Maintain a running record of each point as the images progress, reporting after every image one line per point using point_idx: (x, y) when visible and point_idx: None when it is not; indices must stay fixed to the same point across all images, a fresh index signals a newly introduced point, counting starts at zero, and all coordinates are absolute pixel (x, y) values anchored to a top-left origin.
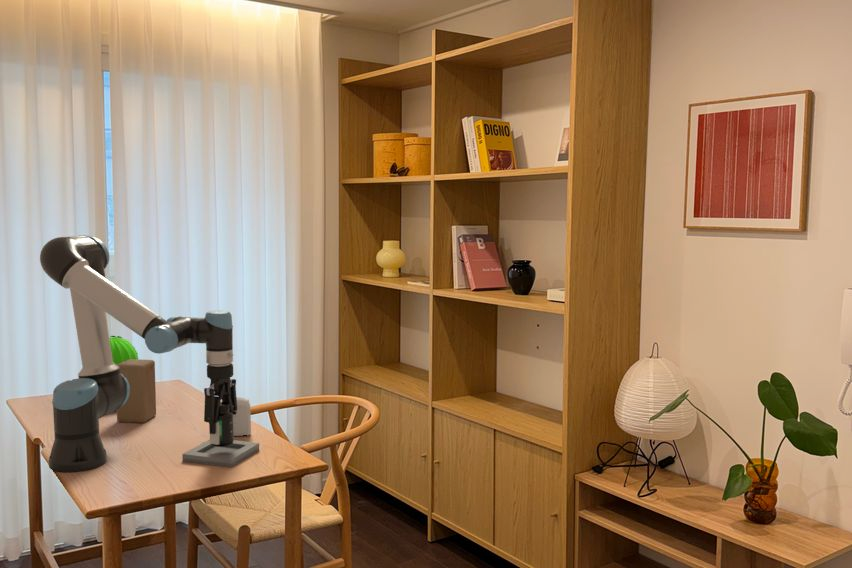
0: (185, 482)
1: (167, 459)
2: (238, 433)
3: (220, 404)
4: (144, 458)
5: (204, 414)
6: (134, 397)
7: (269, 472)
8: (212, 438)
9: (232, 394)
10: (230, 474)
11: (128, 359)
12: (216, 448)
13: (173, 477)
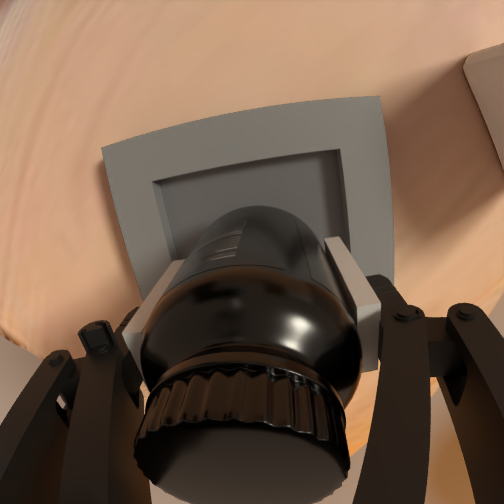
0: (28, 305)
1: (106, 75)
2: (499, 145)
3: (208, 487)
4: (83, 5)
5: (25, 389)
6: None
7: None
8: None
9: (484, 495)
10: None
11: None
12: (294, 185)
13: (22, 249)
